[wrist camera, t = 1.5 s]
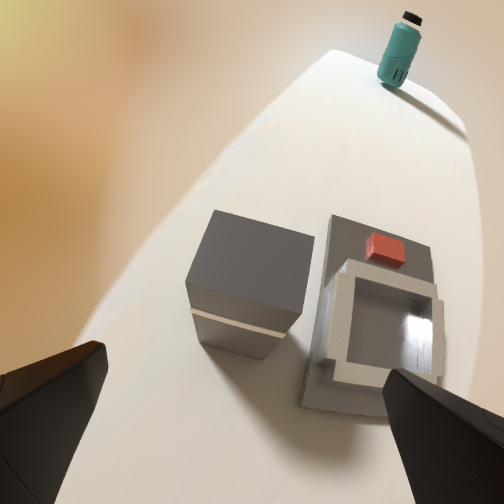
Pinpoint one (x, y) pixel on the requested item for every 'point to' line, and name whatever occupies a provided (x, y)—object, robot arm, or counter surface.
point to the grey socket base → (371, 319)
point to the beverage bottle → (400, 51)
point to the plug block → (247, 283)
